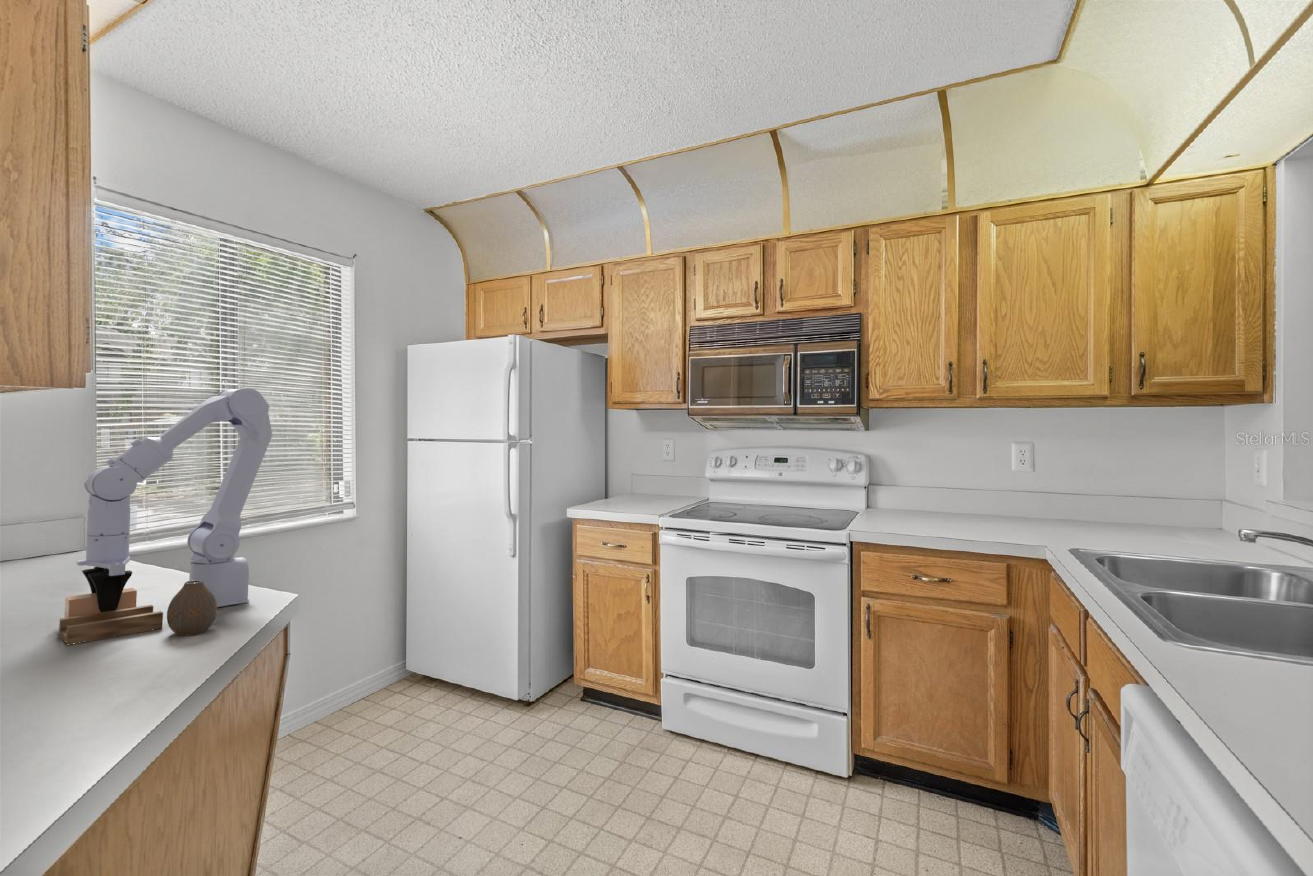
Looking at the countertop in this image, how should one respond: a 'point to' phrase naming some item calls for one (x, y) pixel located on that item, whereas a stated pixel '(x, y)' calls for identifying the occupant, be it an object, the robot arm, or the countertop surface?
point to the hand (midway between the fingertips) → (105, 609)
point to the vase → (192, 609)
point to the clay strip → (96, 603)
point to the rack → (109, 624)
